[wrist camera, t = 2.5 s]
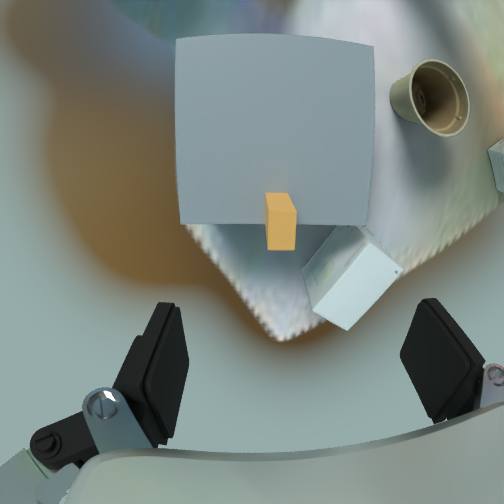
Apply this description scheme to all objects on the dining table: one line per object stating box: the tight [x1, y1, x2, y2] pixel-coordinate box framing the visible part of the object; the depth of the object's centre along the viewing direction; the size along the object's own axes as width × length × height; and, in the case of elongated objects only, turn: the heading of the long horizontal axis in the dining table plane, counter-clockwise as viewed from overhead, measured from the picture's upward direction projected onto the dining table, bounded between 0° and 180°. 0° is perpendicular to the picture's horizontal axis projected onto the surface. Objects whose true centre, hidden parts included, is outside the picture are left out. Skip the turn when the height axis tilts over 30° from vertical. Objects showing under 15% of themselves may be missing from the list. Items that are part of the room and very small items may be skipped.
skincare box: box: [302, 225, 403, 331], centre depth 35 cm, size 10×6×10 cm, turn 147°
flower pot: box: [390, 59, 470, 137], centre depth 27 cm, size 9×9×9 cm
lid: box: [175, 33, 375, 250], centre depth 21 cm, size 18×18×7 cm
